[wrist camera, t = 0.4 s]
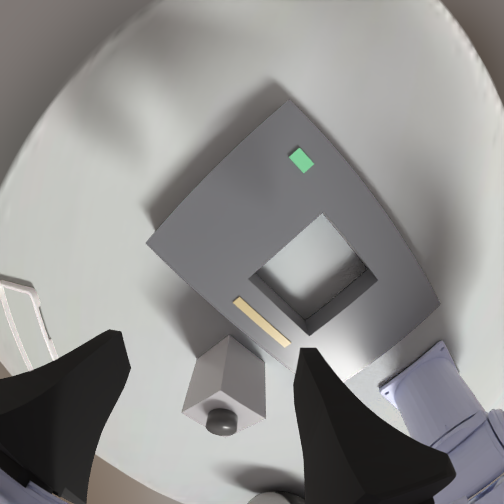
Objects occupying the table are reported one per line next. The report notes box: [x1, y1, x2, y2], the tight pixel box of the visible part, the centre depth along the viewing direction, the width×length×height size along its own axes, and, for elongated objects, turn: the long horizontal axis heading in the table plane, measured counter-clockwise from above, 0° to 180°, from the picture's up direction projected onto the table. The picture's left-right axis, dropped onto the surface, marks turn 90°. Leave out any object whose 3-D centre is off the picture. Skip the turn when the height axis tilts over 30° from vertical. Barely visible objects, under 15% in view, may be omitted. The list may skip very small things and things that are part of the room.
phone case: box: [0, 280, 59, 371], centre depth 22 cm, size 7×1×15 cm
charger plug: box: [181, 335, 266, 437], centre depth 18 cm, size 4×4×7 cm
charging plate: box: [146, 99, 440, 383], centre depth 17 cm, size 18×12×2 cm, turn 44°
